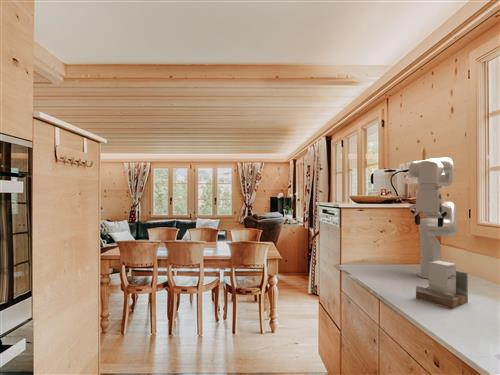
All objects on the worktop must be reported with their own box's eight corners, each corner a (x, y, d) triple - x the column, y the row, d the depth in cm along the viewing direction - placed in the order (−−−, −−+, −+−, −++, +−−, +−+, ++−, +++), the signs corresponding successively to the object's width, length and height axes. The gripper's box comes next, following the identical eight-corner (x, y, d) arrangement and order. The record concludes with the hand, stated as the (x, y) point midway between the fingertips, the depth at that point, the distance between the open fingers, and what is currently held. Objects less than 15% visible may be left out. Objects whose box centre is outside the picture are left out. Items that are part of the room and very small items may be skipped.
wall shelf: (431, 292, 137) (431, 265, 137) (467, 301, 126) (467, 272, 126) (415, 298, 129) (415, 269, 129) (452, 308, 118) (452, 277, 118)
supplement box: (446, 297, 122) (446, 265, 123) (428, 291, 129) (428, 261, 129) (456, 294, 126) (456, 263, 126) (438, 289, 132) (438, 260, 133)
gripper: (453, 187, 133) (453, 227, 133) (413, 188, 147) (413, 223, 147) (445, 187, 129) (445, 228, 129) (405, 187, 143) (405, 224, 143)
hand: (428, 225), depth 138 cm, fingers open, 9 cm apart
